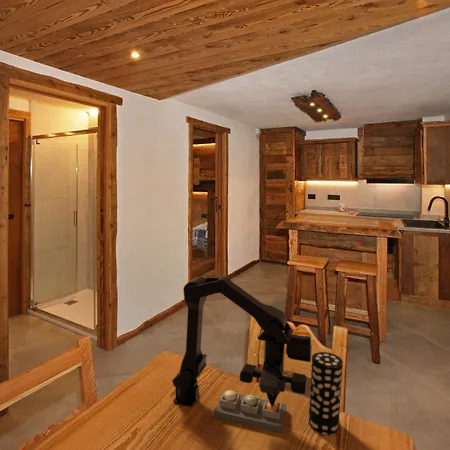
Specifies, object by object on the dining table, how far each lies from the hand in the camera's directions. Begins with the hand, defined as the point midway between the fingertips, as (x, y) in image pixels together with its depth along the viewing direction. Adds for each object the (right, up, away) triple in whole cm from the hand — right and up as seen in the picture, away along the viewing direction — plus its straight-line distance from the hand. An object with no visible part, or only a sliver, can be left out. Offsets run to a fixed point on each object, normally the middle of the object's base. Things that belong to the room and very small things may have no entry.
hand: (272, 404), depth 101 cm
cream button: (-12, -1, +4) cm, 13 cm away
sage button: (-6, -1, +2) cm, 7 cm away
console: (-6, -4, +3) cm, 8 cm away
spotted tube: (+15, -5, -1) cm, 15 cm away
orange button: (0, -2, 0) cm, 2 cm away
